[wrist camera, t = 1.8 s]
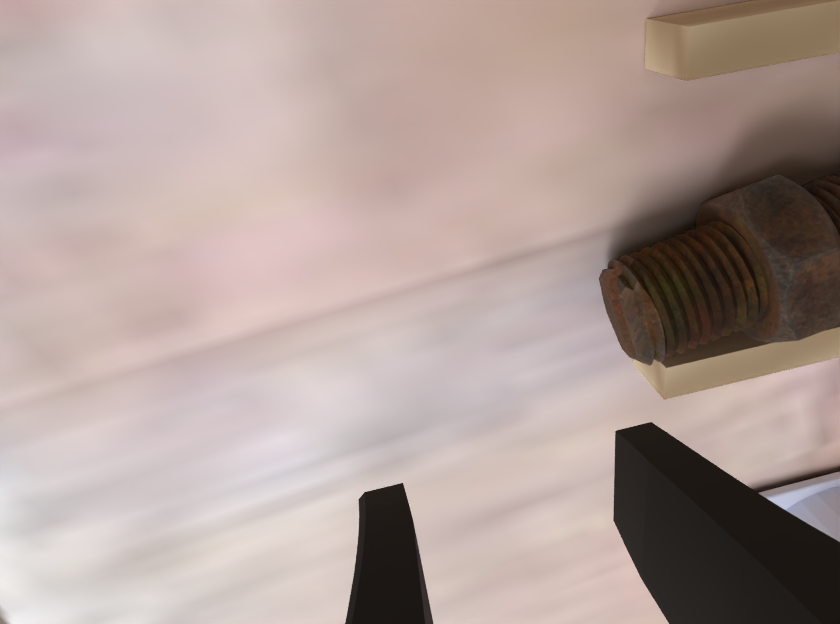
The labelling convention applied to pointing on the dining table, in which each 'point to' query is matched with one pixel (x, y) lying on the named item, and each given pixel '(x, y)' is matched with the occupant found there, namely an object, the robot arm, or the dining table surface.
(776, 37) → the guide channel
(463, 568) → the dining table surface
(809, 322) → the bolt
